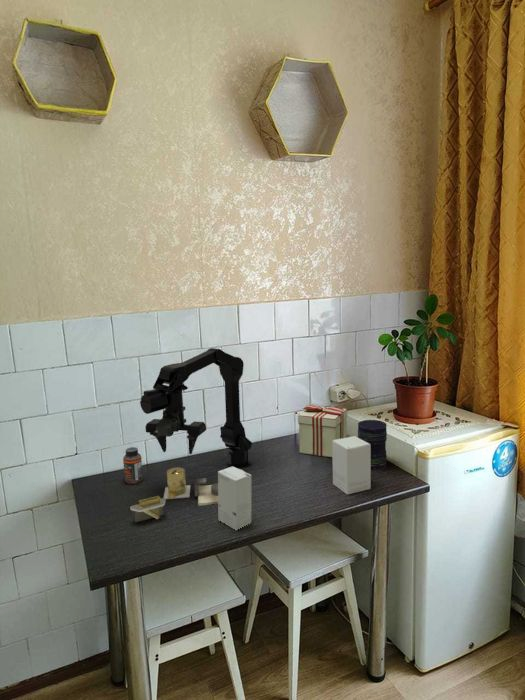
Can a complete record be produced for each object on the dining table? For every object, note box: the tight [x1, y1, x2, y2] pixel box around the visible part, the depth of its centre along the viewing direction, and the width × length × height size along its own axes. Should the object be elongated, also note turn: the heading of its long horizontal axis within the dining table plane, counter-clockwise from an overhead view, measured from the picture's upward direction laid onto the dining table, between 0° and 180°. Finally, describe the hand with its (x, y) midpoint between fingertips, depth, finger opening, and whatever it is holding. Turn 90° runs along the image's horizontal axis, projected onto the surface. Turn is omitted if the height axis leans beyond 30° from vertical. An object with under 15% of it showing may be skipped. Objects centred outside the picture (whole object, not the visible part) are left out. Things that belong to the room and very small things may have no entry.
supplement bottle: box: [122, 446, 144, 485], centre depth 168 cm, size 6×6×11 cm
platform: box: [129, 495, 167, 523], centre depth 142 cm, size 12×18×7 cm, turn 117°
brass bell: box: [166, 466, 187, 500], centre depth 158 cm, size 10×6×7 cm, turn 166°
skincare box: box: [217, 466, 252, 531], centre depth 138 cm, size 8×6×15 cm
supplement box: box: [331, 435, 372, 495], centre depth 157 cm, size 9×9×15 cm
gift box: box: [297, 403, 348, 458], centre depth 191 cm, size 17×18×17 cm
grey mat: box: [163, 484, 191, 500], centre depth 159 cm, size 8×8×1 cm
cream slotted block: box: [193, 477, 218, 507], centre depth 156 cm, size 14×12×5 cm
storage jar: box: [357, 419, 388, 472], centre depth 173 cm, size 10×10×15 cm
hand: (177, 452), depth 159 cm, fingers open, 9 cm apart
